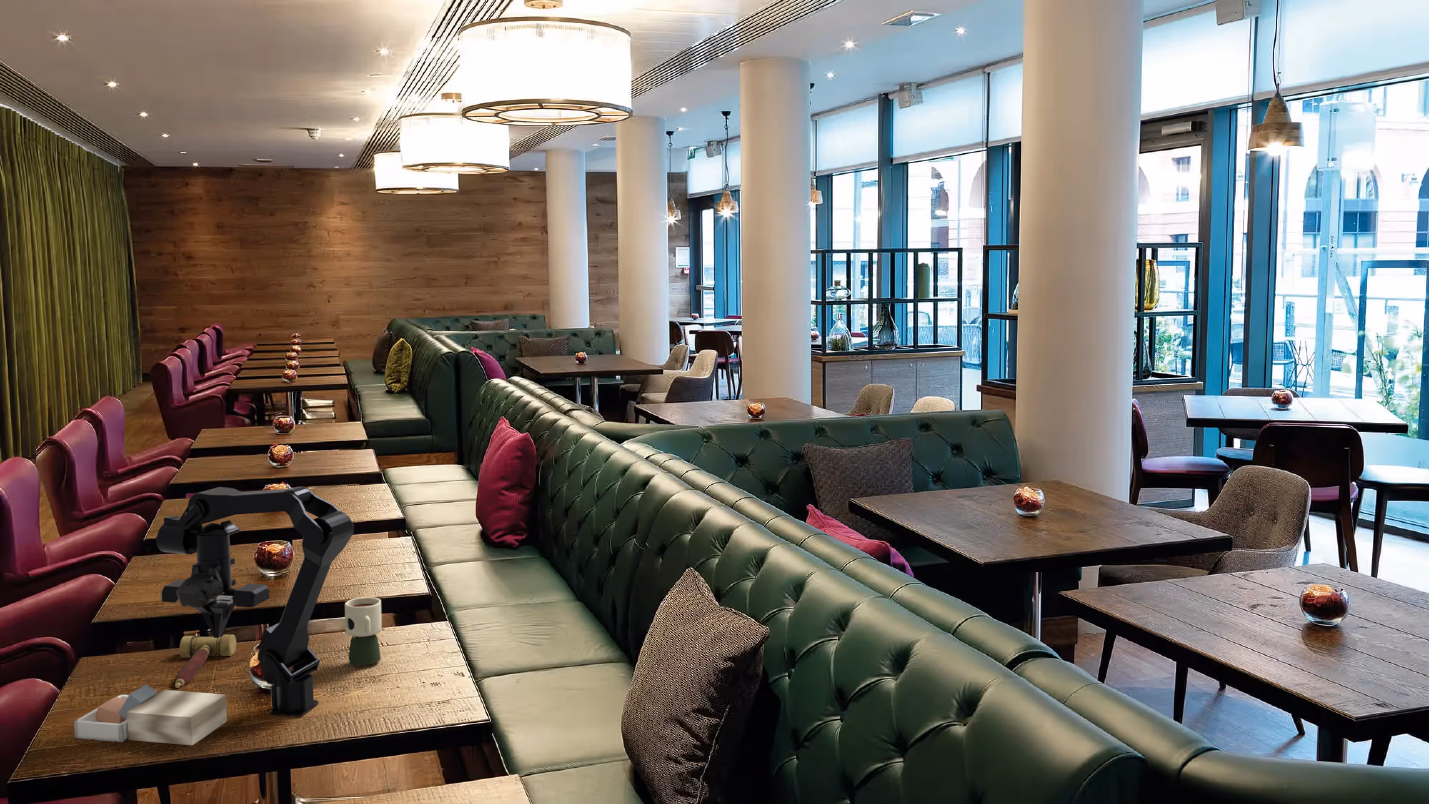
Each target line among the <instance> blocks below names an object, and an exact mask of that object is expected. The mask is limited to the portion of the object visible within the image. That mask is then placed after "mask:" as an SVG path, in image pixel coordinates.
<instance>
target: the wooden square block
mask: <svg viewBox="0 0 1429 804" xmlns="http://www.w3.org/2000/svg"><path fill="white" fill-rule="evenodd" d="M226 699H227V697H226V694H223V693H222V694H220V693H208V692H195V691H185V690H183V691H182V690H172V689H169V690H168V689H164V690H162V691H160V692H159V693H157V694H156V695H155V696H153V697H152V698H150V699H148V700H147V701H145V702H143V703H142V704H140V705H138V706H137V707H135V708H133V709H132V710H130V711H128V712H127V720H128V736H129V738H128V741H138V742H139V741H140V742H149V743H162V744H172V745H173V744H175V745H183V746H184V745H185V746H186V745H187V746H194V745H195V744H196V743H198V742H199V741H201V740H203V739H204V738H205V737H206V736H209V735H210V734H211V733H212V732H214V731H216V729H218V728H219V727H221V726H222V725H224V724H225V723H226V722H227V721H228V717H227V716H228V715H227V714H228V713H227V700H226Z"/></svg>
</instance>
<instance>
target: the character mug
mask: <svg viewBox="0 0 1429 804" xmlns="http://www.w3.org/2000/svg"><path fill="white" fill-rule="evenodd" d="M344 624H345V625H344V626H345V633H346V635H347V636H351V639H350V642H349V652H348V662H349V665H351V666H355V667H357V666H358V667H362V666H365V667H367V666H368V665H370V664H375V663H378V662H380V660H381V658H382V657H381V653H380V652H381V650H380V643H379V639H378V636H377V634H379V633H380V632H382V599H380V598H377V597H374V596H373V597H372V596H365V597H357V598H352V599H349V600H347V601H345V602H344Z"/></svg>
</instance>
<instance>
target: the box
mask: <svg viewBox="0 0 1429 804" xmlns="http://www.w3.org/2000/svg"><path fill="white" fill-rule="evenodd" d="M128 696H129V694H120V695H118V696H117V697H118V698H121V699H124V700H126V699H127V698H128ZM97 710H98V707H97V708H95V709H93V710H91V711H90V712H88V713H87V714H85V715H83V716H81V717H79V718H77V719H76V720H74V721H73V729H74V731H73V732H74V738H75V739H80V740H91V739H93V740H94V739H95V740H94V741H104V742H105V741H106V742H115V741H116V743H123V742H124V741H126V740H129V736H128V720H126V721H124V722H122V723H121V724H117V723H105V722H102V721H99V720H96V716H97ZM93 740H92V741H93Z"/></svg>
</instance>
